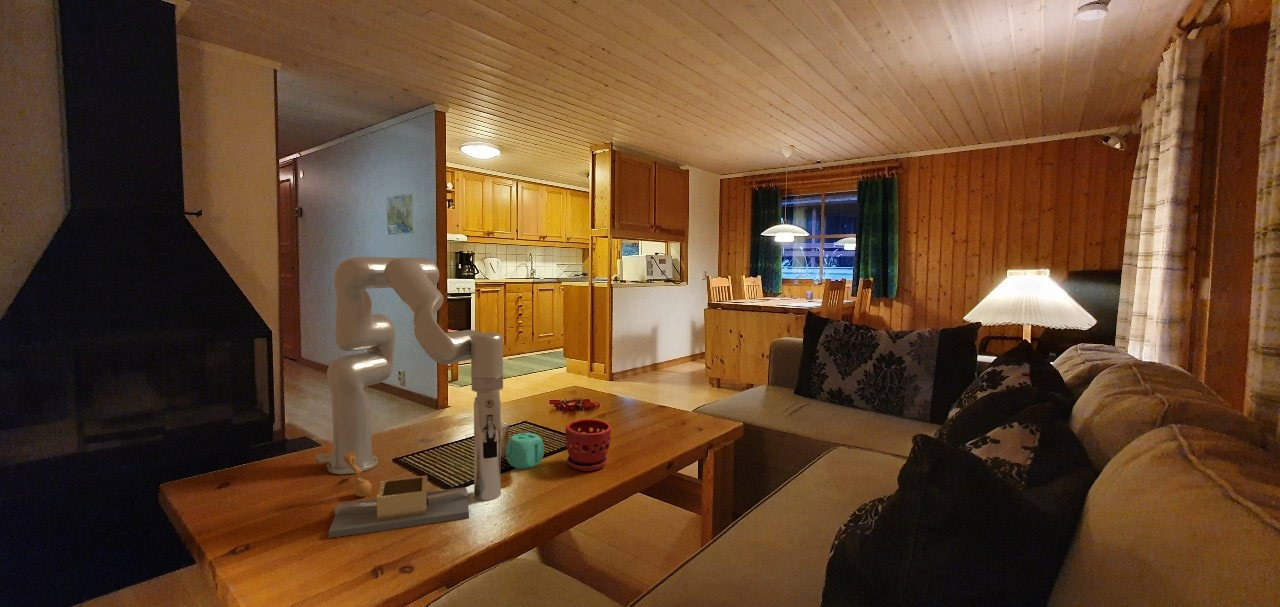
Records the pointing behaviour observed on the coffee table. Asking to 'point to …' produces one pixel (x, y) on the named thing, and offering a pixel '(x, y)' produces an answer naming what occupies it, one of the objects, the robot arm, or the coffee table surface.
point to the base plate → (369, 523)
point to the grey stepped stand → (401, 499)
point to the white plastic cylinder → (485, 464)
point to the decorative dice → (524, 450)
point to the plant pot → (587, 444)
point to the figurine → (357, 476)
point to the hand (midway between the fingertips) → (488, 450)
